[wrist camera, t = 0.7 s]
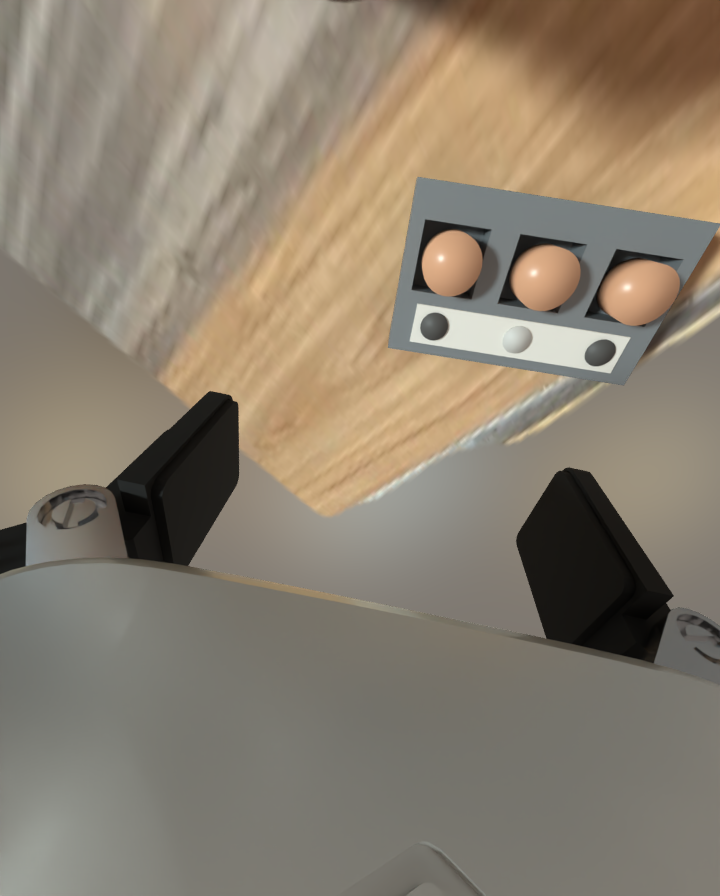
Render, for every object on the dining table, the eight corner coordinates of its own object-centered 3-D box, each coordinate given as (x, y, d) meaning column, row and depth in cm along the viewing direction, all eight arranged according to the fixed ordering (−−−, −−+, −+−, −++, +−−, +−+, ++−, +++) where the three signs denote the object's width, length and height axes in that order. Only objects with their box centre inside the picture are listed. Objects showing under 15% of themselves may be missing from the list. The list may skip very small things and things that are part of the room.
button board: (416, 178, 32) (418, 176, 29) (688, 220, 32) (724, 224, 28) (389, 335, 40) (387, 349, 37) (606, 369, 40) (625, 387, 36)
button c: (614, 253, 31) (632, 259, 29) (670, 262, 31) (693, 268, 29) (586, 311, 34) (601, 321, 31) (638, 319, 34) (656, 329, 31)
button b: (520, 239, 31) (531, 243, 29) (576, 247, 31) (591, 253, 29) (501, 297, 34) (508, 306, 32) (552, 305, 34) (564, 315, 31)
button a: (428, 224, 31) (430, 227, 29) (483, 233, 31) (490, 237, 29) (416, 284, 34) (417, 291, 32) (467, 292, 34) (472, 300, 32)
